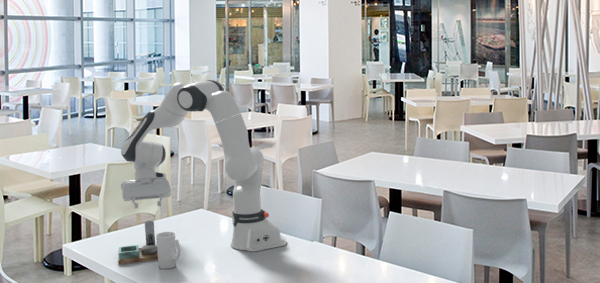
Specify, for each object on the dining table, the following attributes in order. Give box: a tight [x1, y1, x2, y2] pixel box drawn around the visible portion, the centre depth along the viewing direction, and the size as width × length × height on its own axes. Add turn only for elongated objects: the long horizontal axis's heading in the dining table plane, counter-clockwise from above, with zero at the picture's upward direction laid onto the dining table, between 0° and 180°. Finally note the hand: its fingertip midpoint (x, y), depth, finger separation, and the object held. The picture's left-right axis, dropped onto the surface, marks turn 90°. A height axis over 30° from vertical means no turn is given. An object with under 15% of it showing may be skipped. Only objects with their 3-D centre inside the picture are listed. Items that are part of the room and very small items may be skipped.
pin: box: [144, 220, 156, 246], centre depth 232 cm, size 4×4×10 cm
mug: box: [155, 231, 182, 270], centre depth 208 cm, size 10×7×12 cm, turn 60°
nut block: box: [117, 244, 158, 265], centre depth 219 cm, size 15×12×4 cm
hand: (147, 206), depth 240 cm, fingers open, 8 cm apart
